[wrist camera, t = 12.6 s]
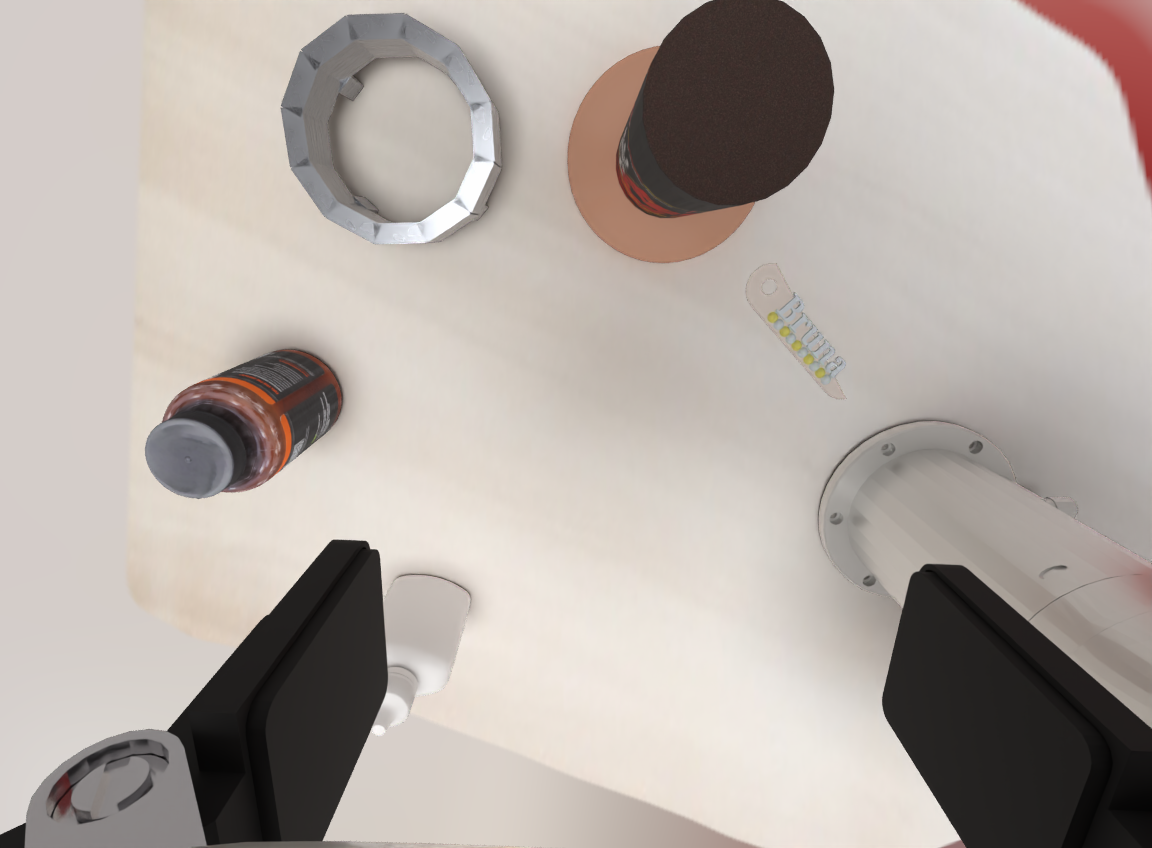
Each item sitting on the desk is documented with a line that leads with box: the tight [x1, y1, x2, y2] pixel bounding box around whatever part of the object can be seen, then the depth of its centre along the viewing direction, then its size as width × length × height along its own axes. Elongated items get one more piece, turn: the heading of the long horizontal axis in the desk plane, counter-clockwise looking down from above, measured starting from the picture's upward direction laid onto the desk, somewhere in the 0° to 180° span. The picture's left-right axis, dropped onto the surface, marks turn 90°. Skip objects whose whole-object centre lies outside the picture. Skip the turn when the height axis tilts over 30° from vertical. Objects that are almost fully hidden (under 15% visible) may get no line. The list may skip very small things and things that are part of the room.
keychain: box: [746, 263, 846, 399], centre depth 37 cm, size 10×1×3 cm
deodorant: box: [616, 0, 834, 218], centre depth 26 cm, size 6×6×15 cm
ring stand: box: [281, 13, 502, 244], centre depth 31 cm, size 10×10×5 cm
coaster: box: [568, 46, 755, 263], centre depth 33 cm, size 11×11×1 cm
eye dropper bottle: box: [372, 575, 471, 736], centre depth 37 cm, size 4×6×12 cm
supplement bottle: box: [145, 350, 342, 499], centre depth 32 cm, size 6×6×11 cm
